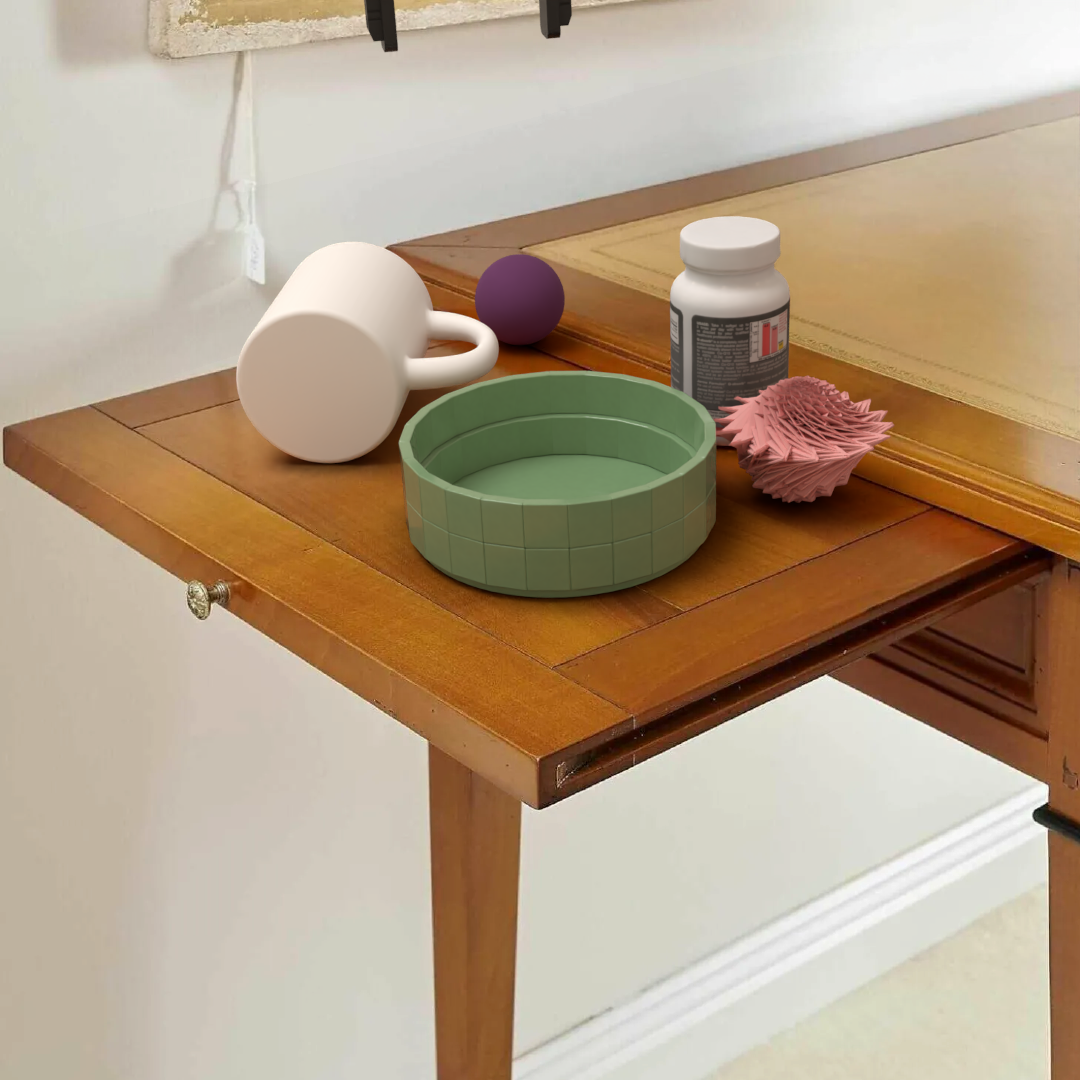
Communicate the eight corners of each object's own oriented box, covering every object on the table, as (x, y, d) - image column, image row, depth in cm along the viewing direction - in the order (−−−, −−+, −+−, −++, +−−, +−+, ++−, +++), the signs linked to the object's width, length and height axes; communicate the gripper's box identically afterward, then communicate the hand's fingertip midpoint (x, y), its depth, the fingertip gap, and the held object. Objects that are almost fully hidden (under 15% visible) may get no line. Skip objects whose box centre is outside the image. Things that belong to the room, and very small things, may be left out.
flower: (789, 441, 79) (793, 333, 76) (925, 492, 73) (934, 378, 71) (674, 495, 74) (674, 382, 72) (810, 554, 69) (815, 434, 66)
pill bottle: (810, 422, 81) (817, 227, 76) (736, 460, 77) (739, 259, 72) (721, 392, 84) (723, 205, 80) (647, 428, 81) (644, 234, 76)
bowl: (672, 443, 79) (671, 356, 77) (753, 578, 67) (755, 481, 65) (393, 476, 77) (385, 388, 75) (427, 621, 66) (418, 522, 63)
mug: (246, 464, 79) (224, 309, 75) (294, 383, 88) (276, 240, 84) (491, 465, 78) (480, 308, 74) (514, 383, 87) (506, 238, 83)
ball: (557, 321, 94) (553, 238, 92) (574, 353, 90) (571, 266, 88) (471, 331, 94) (466, 247, 91) (484, 363, 89) (479, 276, 87)
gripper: (302, -296, 73) (340, 70, 81) (611, -314, 75) (619, 45, 83) (294, -299, 80) (330, 40, 88) (578, -315, 82) (589, 18, 90)
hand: (471, 42), depth 85 cm, fingers open, 8 cm apart
